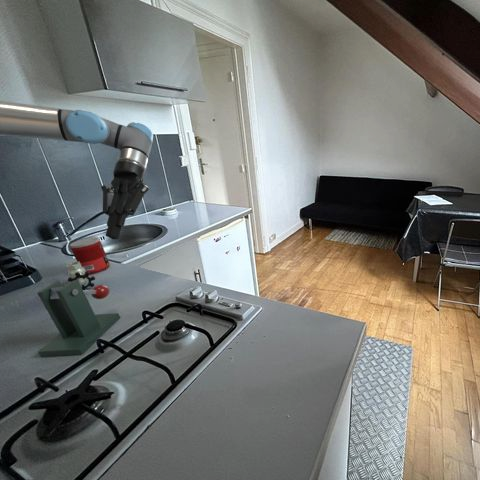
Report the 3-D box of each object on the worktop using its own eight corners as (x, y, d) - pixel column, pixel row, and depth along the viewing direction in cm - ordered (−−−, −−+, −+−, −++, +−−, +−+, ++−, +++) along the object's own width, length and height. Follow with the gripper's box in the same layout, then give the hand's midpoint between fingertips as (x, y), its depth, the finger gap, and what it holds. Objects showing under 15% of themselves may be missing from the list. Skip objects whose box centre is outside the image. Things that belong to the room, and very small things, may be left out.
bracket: (85, 319, 67) (62, 273, 62) (120, 317, 67) (99, 271, 62) (40, 357, 56) (7, 304, 51) (82, 354, 56) (53, 301, 51)
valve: (67, 283, 86) (71, 296, 78) (58, 265, 83) (62, 277, 75) (92, 275, 90) (99, 287, 82) (85, 258, 87) (90, 268, 80)
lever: (98, 299, 68) (99, 285, 69) (112, 298, 68) (113, 284, 69) (45, 302, 55) (48, 285, 56) (62, 301, 55) (64, 284, 56)
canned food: (114, 266, 95) (102, 239, 91) (87, 276, 89) (73, 247, 85) (105, 262, 99) (94, 235, 95) (79, 271, 93) (65, 243, 89)
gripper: (159, 173, 84) (144, 241, 75) (119, 176, 84) (99, 243, 75) (143, 158, 77) (125, 230, 68) (100, 160, 77) (76, 233, 68)
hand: (112, 237), depth 72 cm, fingers closed
